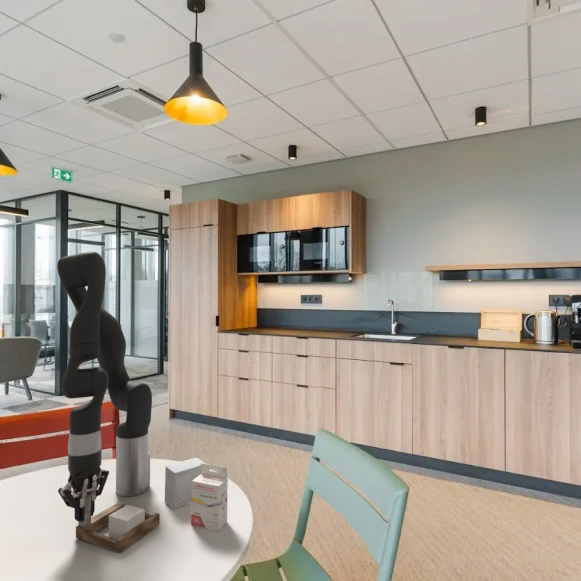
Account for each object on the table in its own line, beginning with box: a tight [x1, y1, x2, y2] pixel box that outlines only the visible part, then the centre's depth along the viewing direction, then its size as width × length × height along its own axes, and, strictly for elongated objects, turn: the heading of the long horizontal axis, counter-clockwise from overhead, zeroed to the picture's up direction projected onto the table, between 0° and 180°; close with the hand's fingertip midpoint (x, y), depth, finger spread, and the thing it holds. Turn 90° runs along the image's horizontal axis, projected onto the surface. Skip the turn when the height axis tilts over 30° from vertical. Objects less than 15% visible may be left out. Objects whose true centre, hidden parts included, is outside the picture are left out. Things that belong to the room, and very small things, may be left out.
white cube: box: [108, 504, 146, 539], centre depth 106 cm, size 6×6×6 cm
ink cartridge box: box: [190, 463, 229, 532], centre depth 112 cm, size 9×5×15 cm, turn 71°
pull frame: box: [75, 494, 161, 554], centre depth 108 cm, size 13×15×10 cm
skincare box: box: [164, 457, 207, 510], centre depth 125 cm, size 10×6×10 cm, turn 132°
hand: (84, 518), depth 106 cm, fingers closed on pull frame, 2 cm apart
